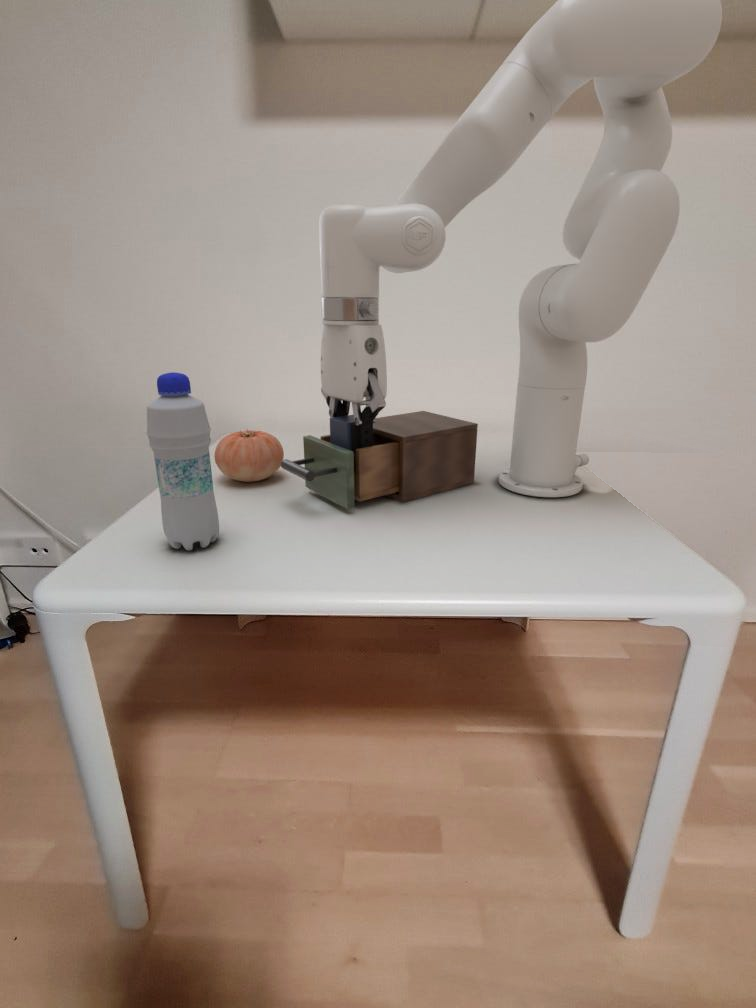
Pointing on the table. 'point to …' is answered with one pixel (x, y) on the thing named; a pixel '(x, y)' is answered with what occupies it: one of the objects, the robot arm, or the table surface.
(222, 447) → the orange pumpkin
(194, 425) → the bottle
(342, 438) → the block
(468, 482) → the cabinet
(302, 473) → the drawer
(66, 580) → the table surface
